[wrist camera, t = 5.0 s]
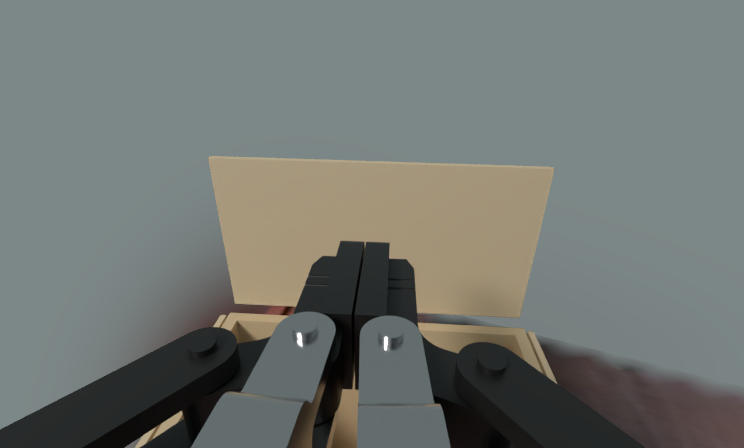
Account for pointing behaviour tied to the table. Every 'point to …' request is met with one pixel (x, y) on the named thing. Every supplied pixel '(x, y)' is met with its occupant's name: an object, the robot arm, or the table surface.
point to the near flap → (383, 226)
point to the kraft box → (346, 428)
